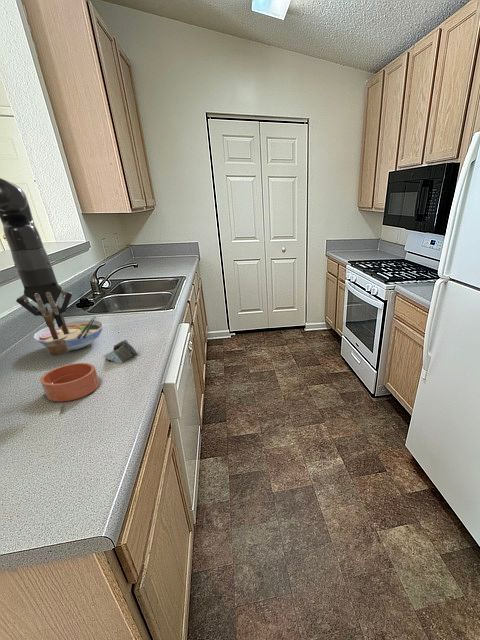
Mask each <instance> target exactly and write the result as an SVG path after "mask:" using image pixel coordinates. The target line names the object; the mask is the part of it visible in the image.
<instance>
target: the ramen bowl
mask: <svg viewBox="0 0 480 640" xmlns="http://www.w3.org/2000/svg"><path fill="white" fill-rule="evenodd" d="M65 323H66V325H67V328H68V331H69V334H65V335H64V332H63V330H62V328H58V325H57V323H54V325H55V329H56V331H57V334H58V337H59V339H57V340H66V343H67V345H68V348H69V351H68V352H71V351H73V352H74V351H78V350H81V349H83V348H85V347H86V346H89V345H90V344H92V343H94V342H95V341H96V340H98V338H99V337H100V335H101V334H102V331H103V328H104V322H103V321H100V320H97V319H96V317H95V316H93V317H92V318H91V319H75V320H70V321H65ZM33 339H34V340H35V341H37V342H38V343H39V344H41V345H43V346H44V347H46V346H45V344H47V343H48V342H51V341H54V340H53V338H52V335H51V332H50V330H49V327H48V326H45V327H44V328H40V330H38V331H37V332H35V333H34V335H33Z"/></svg>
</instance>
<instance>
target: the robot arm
mask: <svg viewBox="0 0 480 640" xmlns="http://www.w3.org/2000/svg"><path fill="white" fill-rule="evenodd" d="M33 217H34V216H33V214H32V210H31V207H30V204H29V200H28V197H27V195H26V193H25V192H24V190H23V189H22V188H21V187H20V186H18V185H17V184H15V183H13V182H11V181H8V180H6V179H4V178H1V177H0V222H1V224H2V229H3V234H4V237H5V240H6V242H7V244H8V247H9V250H10V253H11V259H12V261H13V263H14V264H13V265H14V267H15V269H16V271H17V273H18V276H19V278H20V282H21V283H22V286H23V294H22V295H21V296H19V297H17V298H16V300H15V301H16V303H17V304H18V305H20V306H21V307H23V308H24V309H26V310H27V311H28V312H29V313H30V314H32V315H33V316H35V317H38V316H39V317H43V319H44V322H45V324H46V327H48V325H47V322H46V319H45V316H46V314H47V312H48V311H49V308H48V304H49V307H50V308H52V310H53V313H54V315H55V316H54V317H55V319H54V321H55V322H54V321H53V323H54V326H55V323H56V324H57V325H58V328H62V325H63V324H64V321H63V318H62V315H61V313H62V314H63V313H66V311H67V309H68V307H69V304H70V302H71V299H72V297H73V291H71V290H65V289H62V286H61V285H59V283H58V281H57V277H56V275H55V271H54V269H53V265H52V264H51V260H50V258H49V255H48V253H47V251H46V249H45V247H44V244H43V241H42V238H41V235H40V233H39V231H38V228H37V227H36V224H35V222H34V218H33ZM60 295H61V296H62V299H63V301H62V304H61V306H60V305H59V306H60V308H59V306H58V303H59V302H58V299H59V298H60ZM30 300H31V301H33V302H34V303H35V304H37V306H38V307H36V306H35V305H34V304H33V303H32V302H30Z"/></svg>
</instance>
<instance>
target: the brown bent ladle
mask: <svg viewBox="0 0 480 640" xmlns="http://www.w3.org/2000/svg"><path fill="white" fill-rule="evenodd" d="M58 306H59V308H61V306H60V303H59V302H58ZM61 315H62V318H63V321H64V324H63V325H62V330H63V332H64V335H65V334H69V331H68V328H67V325H66V323H65V322H66V320H65V318H64V317H65V316H64V314H63V313H61ZM54 316H55V315H54V313H53V310H52V308H51V307H50V308H48V312H47V314H46V316H45V319H46V322H47V324H46V326H47V325H48V326H47V327H49V330H50V332H51V335H52V338H53V340H54V341H51V342H48V343H47V344H45V346H44V347H45V349H46V352H47V354H48V356H51V357H57V356H61V355H65V354H66V353H69V352H70V351H69V348H68V345H67V343H66V340H57V339H59V337H58V334H57V331H56V329H55V326H54V325H55V322H54V321H55V317H54ZM45 319H44V320H45ZM46 322H45V323H46ZM53 322H54V323H53Z"/></svg>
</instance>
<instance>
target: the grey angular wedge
mask: <svg viewBox="0 0 480 640" xmlns="http://www.w3.org/2000/svg"><path fill="white" fill-rule="evenodd" d="M131 357H138V352H137V351H136V349H135V348H134V346H132V345H131V344H130V343H129V342H128V340H127V339H124V340H122V341H119V342H118V343H116V344H115V345H113V351H112V352H111V353H109V354H108V355H106V357H105V358H106V359H108V360H107V362H108V363H111V362H115V364H118V365H119V364H123V363H126V361H127V360H128V359H130V358H131Z"/></svg>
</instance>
